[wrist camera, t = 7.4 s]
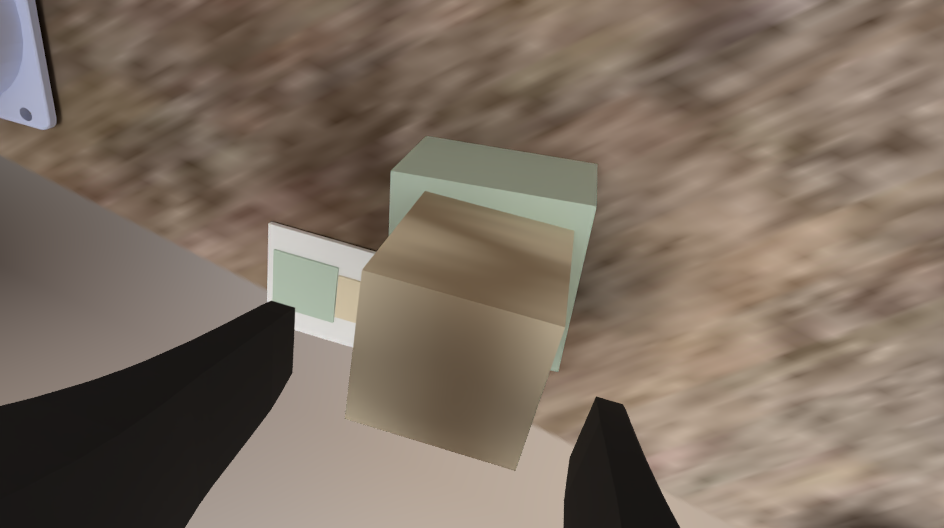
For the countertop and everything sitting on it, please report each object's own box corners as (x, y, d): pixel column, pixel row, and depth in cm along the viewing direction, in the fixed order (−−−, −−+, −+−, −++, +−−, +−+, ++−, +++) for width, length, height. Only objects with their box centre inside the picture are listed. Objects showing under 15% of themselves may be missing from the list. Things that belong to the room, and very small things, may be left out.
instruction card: (269, 319, 25) (265, 322, 25) (271, 221, 23) (267, 224, 22) (395, 357, 25) (393, 361, 24) (411, 261, 22) (409, 265, 22)
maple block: (404, 314, 19) (344, 419, 14) (424, 190, 16) (362, 270, 12) (535, 351, 18) (515, 470, 14) (574, 230, 16) (565, 327, 12)
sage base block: (418, 278, 23) (385, 335, 19) (427, 134, 20) (390, 170, 16) (564, 307, 22) (557, 371, 18) (597, 162, 19) (596, 206, 16)
